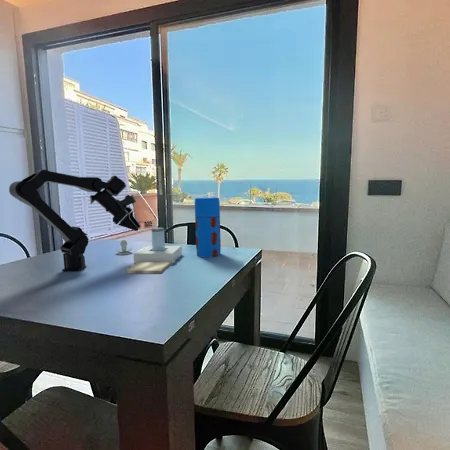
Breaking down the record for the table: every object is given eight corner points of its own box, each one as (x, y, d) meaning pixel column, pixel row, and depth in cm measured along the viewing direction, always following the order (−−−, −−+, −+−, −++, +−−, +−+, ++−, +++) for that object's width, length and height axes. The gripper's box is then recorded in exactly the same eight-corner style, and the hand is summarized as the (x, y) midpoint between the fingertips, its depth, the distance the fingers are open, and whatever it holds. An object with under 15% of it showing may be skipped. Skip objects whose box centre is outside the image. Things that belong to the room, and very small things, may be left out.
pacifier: (132, 254, 149) (132, 251, 155) (131, 241, 148) (131, 239, 154) (115, 256, 147) (116, 253, 153) (114, 242, 146) (115, 239, 152)
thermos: (193, 253, 147) (191, 198, 144) (214, 251, 152) (213, 197, 148) (201, 258, 137) (199, 198, 134) (224, 255, 142) (223, 197, 139)
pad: (125, 273, 117) (125, 270, 117) (138, 264, 130) (138, 261, 130) (161, 273, 116) (160, 270, 116) (170, 264, 128) (170, 261, 128)
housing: (133, 263, 131) (133, 253, 131) (147, 254, 147) (146, 245, 147) (172, 263, 130) (172, 253, 129) (182, 254, 146) (181, 245, 145)
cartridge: (151, 260, 136) (149, 229, 135) (155, 257, 141) (153, 227, 140) (163, 260, 136) (161, 229, 134) (166, 257, 141) (165, 227, 139)
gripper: (119, 188, 124) (150, 216, 127) (126, 188, 142) (153, 212, 145) (99, 210, 123) (131, 237, 126) (108, 207, 142) (136, 230, 145)
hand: (138, 228), depth 136 cm, fingers open, 9 cm apart
